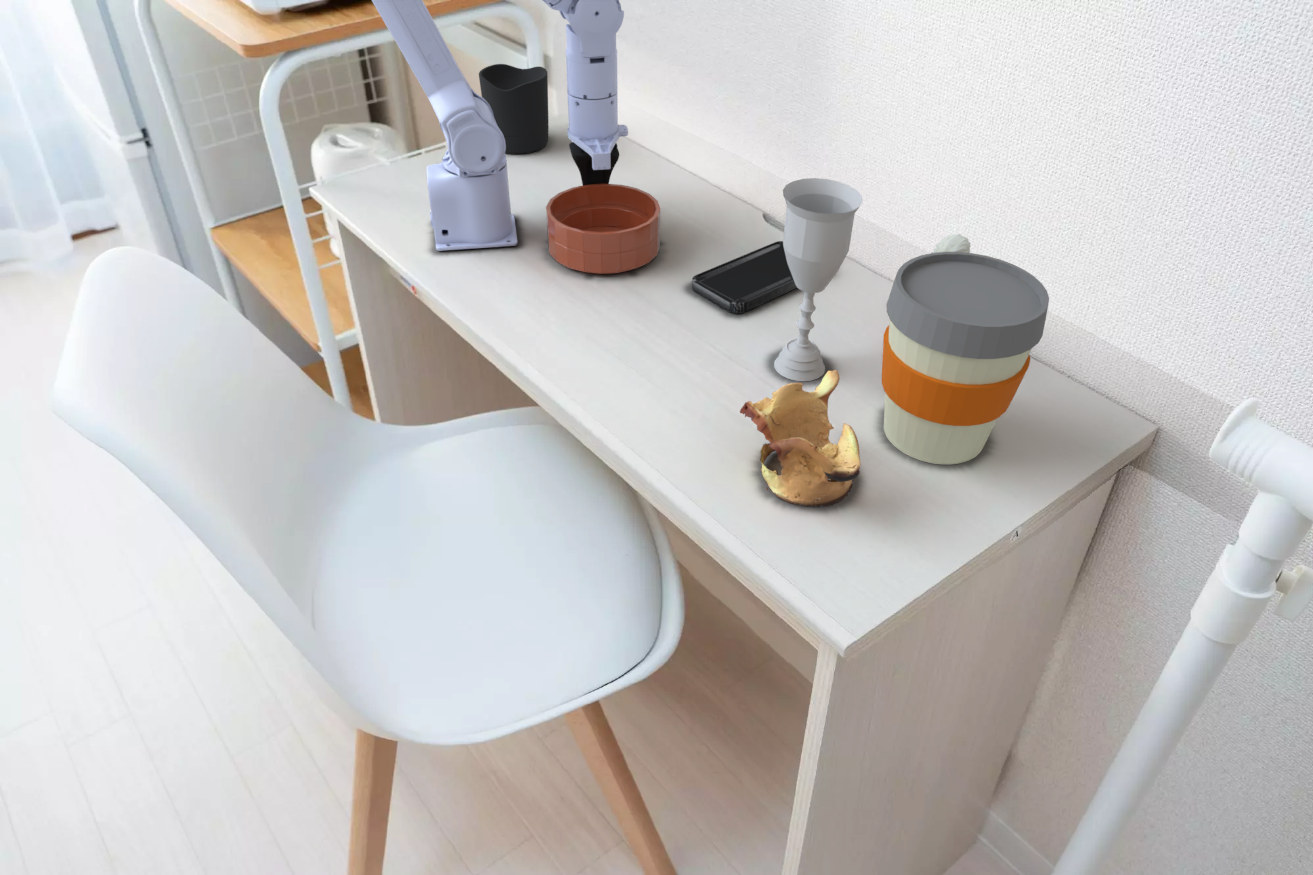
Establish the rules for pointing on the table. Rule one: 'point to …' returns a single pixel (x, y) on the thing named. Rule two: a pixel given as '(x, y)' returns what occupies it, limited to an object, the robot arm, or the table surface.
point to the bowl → (603, 228)
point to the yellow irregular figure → (805, 445)
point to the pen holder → (518, 105)
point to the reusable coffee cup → (956, 351)
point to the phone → (747, 279)
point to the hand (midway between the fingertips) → (595, 202)
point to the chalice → (814, 259)
